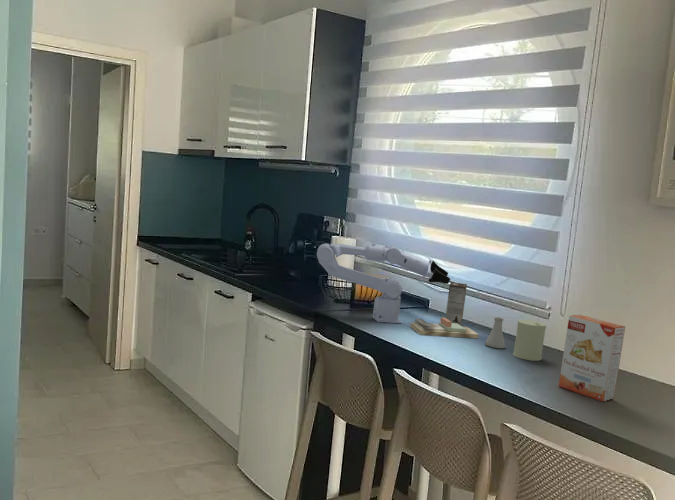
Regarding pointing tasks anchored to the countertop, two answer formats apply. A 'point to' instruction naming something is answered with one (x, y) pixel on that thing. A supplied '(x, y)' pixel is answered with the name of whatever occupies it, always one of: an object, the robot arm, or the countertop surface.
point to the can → (529, 340)
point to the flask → (496, 335)
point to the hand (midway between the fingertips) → (448, 278)
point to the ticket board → (439, 330)
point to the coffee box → (456, 302)
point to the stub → (451, 326)
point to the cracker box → (591, 357)
